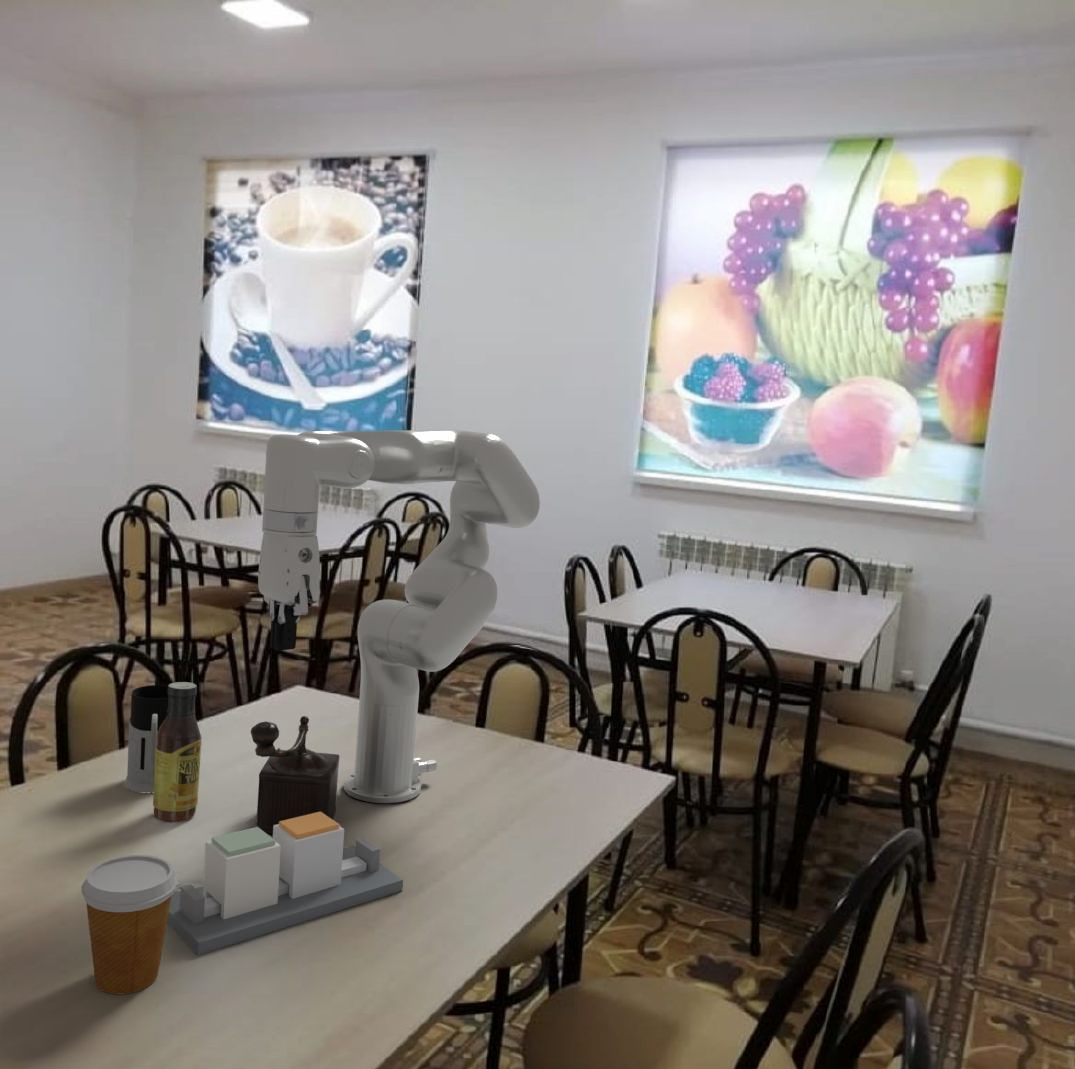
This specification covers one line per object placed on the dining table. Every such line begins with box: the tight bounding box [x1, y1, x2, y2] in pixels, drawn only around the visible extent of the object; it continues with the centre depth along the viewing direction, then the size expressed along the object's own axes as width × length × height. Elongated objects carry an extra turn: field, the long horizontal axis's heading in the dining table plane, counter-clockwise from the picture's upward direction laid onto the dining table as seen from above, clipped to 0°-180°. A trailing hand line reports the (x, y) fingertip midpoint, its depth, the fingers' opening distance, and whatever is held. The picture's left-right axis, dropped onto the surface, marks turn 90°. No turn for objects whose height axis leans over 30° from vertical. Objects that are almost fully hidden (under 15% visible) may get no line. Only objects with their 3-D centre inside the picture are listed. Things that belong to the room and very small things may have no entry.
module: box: [272, 812, 345, 899], centre depth 130 cm, size 7×6×8 cm
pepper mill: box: [250, 715, 340, 837], centre depth 147 cm, size 16×11×18 cm
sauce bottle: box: [152, 681, 203, 823], centre depth 149 cm, size 6×6×20 cm
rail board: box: [167, 826, 404, 956], centre depth 128 cm, size 28×12×10 cm, turn 132°
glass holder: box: [123, 684, 169, 794], centre depth 158 cm, size 9×14×15 cm, turn 18°
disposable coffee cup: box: [80, 854, 179, 995], centre depth 108 cm, size 10×10×12 cm
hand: (282, 648), depth 145 cm, fingers closed
